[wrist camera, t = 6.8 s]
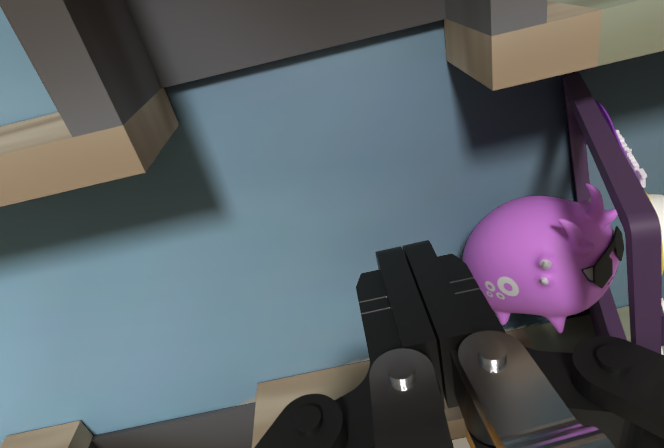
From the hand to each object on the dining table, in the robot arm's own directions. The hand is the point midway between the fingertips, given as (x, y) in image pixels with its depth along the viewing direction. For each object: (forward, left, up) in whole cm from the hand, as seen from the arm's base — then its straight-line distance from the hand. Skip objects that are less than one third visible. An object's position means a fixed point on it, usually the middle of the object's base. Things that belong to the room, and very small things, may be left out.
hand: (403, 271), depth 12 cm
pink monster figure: (+1, +4, -2) cm, 4 cm away
